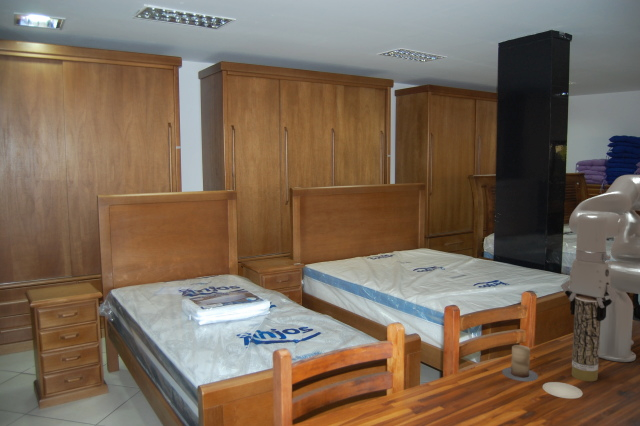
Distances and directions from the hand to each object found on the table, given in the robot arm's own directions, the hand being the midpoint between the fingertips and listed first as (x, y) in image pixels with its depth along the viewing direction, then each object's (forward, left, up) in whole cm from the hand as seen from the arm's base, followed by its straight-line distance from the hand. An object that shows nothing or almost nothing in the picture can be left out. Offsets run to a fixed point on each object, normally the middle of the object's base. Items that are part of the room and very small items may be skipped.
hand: (587, 316), depth 146 cm
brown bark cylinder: (0, 0, -19) cm, 19 cm away
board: (+14, -5, -19) cm, 24 cm away
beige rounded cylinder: (+14, -12, -18) cm, 26 cm away
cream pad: (+14, +1, -19) cm, 24 cm away
